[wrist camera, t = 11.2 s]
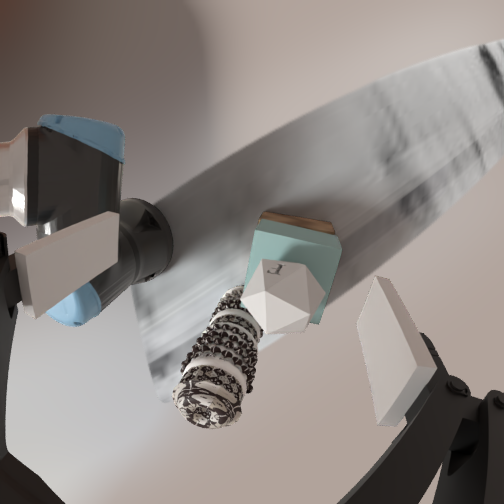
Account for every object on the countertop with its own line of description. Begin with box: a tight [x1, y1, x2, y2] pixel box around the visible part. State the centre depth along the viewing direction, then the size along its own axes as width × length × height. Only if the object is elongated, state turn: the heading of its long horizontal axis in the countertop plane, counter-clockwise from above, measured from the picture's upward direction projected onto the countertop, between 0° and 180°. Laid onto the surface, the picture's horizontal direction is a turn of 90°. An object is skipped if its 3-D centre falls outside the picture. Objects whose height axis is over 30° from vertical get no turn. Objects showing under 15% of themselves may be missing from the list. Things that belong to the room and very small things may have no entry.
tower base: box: [258, 212, 335, 235], centre depth 45 cm, size 10×10×6 cm
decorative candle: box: [172, 286, 264, 429], centre depth 40 cm, size 9×9×25 cm
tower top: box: [240, 219, 342, 324], centre depth 39 cm, size 10×10×6 cm
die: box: [240, 259, 326, 334], centre depth 33 cm, size 8×9×10 cm
